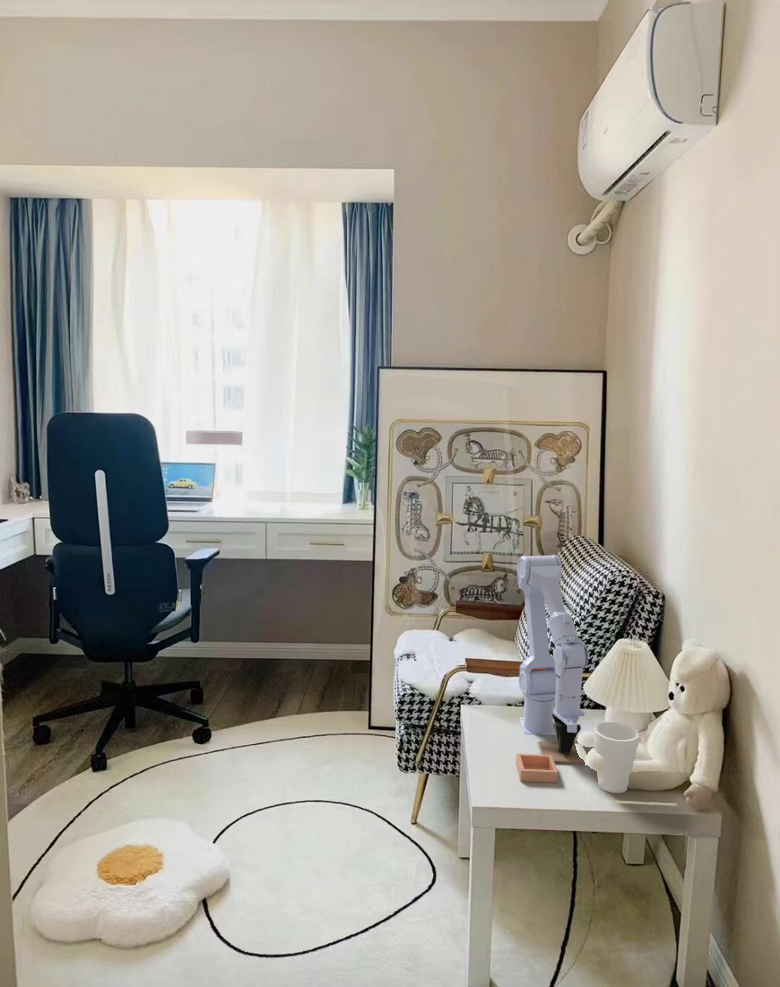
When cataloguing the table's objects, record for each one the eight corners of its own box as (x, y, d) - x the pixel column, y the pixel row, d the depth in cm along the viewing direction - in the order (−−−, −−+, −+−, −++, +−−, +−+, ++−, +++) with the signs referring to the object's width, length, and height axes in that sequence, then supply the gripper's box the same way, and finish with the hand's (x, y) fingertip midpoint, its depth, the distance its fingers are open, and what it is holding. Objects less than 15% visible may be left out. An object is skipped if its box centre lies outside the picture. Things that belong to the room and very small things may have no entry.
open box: (515, 765, 188) (516, 753, 187) (550, 767, 188) (551, 755, 187) (520, 783, 180) (521, 770, 179) (556, 785, 180) (557, 772, 179)
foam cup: (639, 784, 181) (644, 729, 179) (628, 803, 173) (633, 745, 171) (596, 772, 186) (600, 718, 184) (584, 790, 178) (588, 733, 176)
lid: (539, 743, 198) (540, 725, 198) (581, 745, 198) (582, 727, 197) (545, 763, 188) (547, 744, 188) (589, 765, 188) (591, 746, 188)
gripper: (592, 706, 184) (587, 763, 186) (579, 682, 198) (575, 735, 200) (560, 705, 184) (556, 762, 186) (549, 680, 198) (546, 734, 200)
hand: (564, 748), depth 193 cm, fingers closed on lid, 3 cm apart
